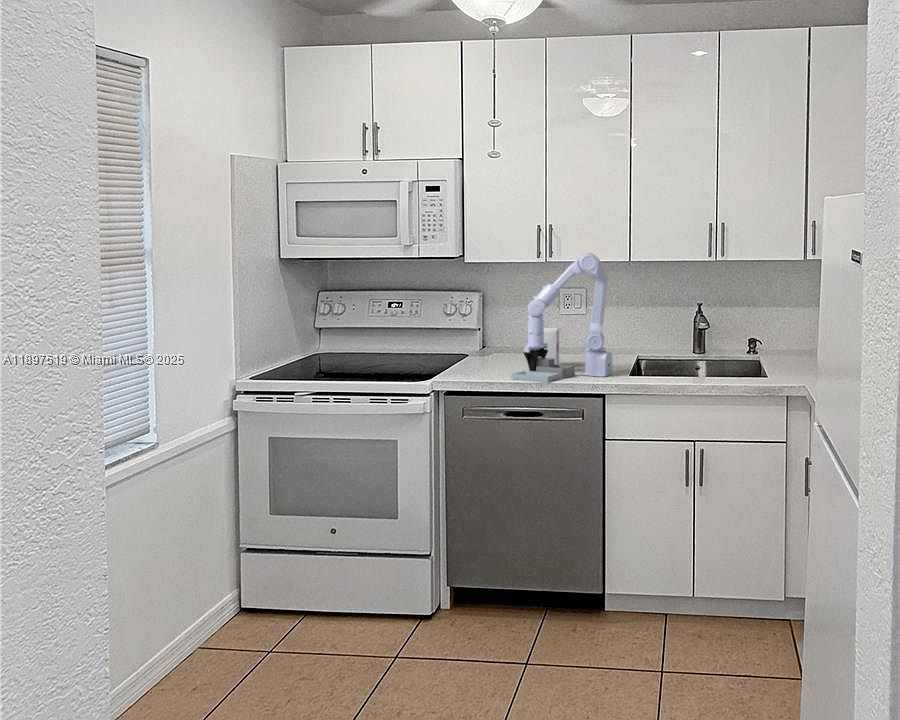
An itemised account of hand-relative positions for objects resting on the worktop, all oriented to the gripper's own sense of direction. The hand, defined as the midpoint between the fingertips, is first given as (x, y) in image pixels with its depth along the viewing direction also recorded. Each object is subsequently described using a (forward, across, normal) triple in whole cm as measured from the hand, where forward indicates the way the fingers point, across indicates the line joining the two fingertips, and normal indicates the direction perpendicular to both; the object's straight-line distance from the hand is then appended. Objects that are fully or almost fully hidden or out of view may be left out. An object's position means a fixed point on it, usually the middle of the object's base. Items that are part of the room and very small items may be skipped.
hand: (535, 370), depth 421 cm
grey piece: (+2, -17, -4) cm, 18 cm away
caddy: (+2, 0, +2) cm, 3 cm away
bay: (+2, 0, +8) cm, 8 cm away
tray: (+2, +10, +6) cm, 12 cm away
